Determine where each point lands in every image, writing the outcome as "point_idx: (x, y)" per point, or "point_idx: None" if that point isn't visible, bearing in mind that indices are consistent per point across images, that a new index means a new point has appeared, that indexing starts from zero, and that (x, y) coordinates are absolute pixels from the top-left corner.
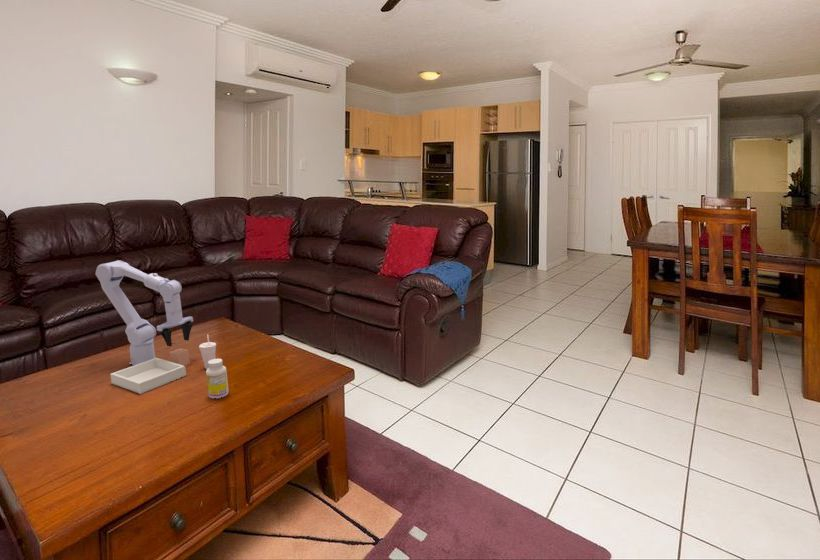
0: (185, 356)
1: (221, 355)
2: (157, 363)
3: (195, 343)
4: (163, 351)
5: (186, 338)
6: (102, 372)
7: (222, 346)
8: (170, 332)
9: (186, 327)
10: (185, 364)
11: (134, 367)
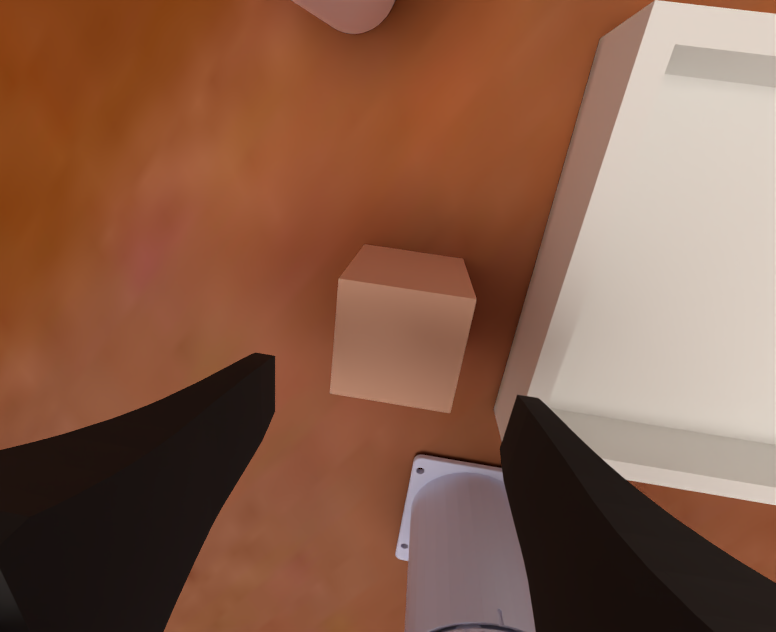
0: (387, 269)
1: (116, 126)
2: None
3: None
4: (289, 539)
5: (263, 385)
6: None
7: (13, 278)
8: (709, 601)
9: (124, 526)
10: (403, 251)
11: (713, 470)
